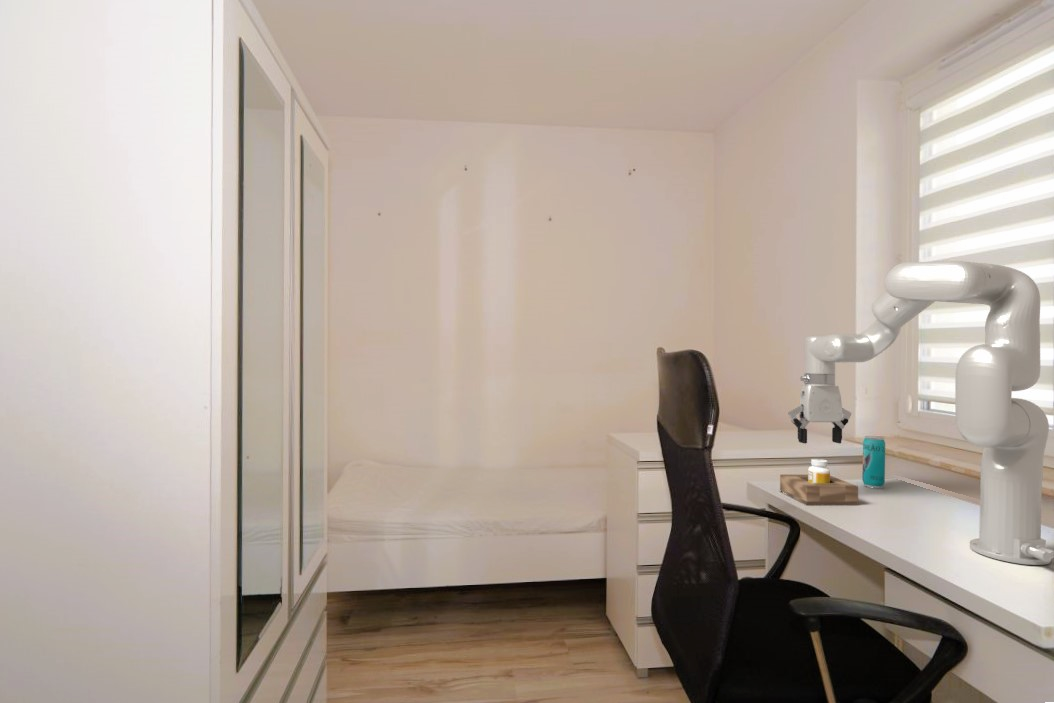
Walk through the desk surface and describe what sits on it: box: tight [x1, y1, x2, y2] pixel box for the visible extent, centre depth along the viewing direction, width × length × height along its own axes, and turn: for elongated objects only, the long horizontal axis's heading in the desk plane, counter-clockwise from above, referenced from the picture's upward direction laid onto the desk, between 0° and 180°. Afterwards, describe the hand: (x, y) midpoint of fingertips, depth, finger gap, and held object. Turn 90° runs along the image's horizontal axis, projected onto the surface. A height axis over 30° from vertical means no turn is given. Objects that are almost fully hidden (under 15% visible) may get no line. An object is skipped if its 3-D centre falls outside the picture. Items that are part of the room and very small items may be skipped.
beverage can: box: [861, 435, 886, 489], centre depth 172 cm, size 6×6×15 cm
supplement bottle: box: [807, 458, 831, 483], centre depth 158 cm, size 5×5×10 cm
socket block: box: [779, 474, 859, 506], centre depth 158 cm, size 14×14×5 cm
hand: (819, 442), depth 157 cm, fingers open, 9 cm apart
